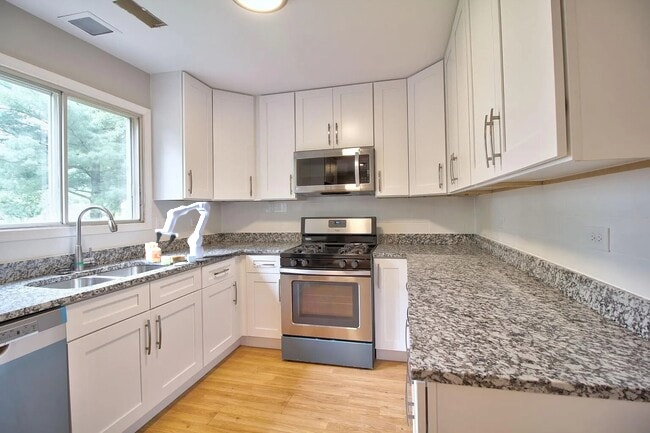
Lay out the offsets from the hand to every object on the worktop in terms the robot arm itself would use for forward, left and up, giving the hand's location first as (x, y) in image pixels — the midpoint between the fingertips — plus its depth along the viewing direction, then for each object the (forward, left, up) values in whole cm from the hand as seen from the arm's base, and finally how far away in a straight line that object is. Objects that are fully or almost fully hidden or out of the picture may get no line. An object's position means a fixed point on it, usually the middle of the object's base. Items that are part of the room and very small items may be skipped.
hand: (163, 244), depth 205 cm
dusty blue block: (-17, +5, -14) cm, 23 cm away
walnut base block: (-9, -4, -14) cm, 17 cm away
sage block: (-1, +4, -14) cm, 14 cm away
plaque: (-10, +11, -13) cm, 20 cm away
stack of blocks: (+6, -19, -14) cm, 24 cm away
